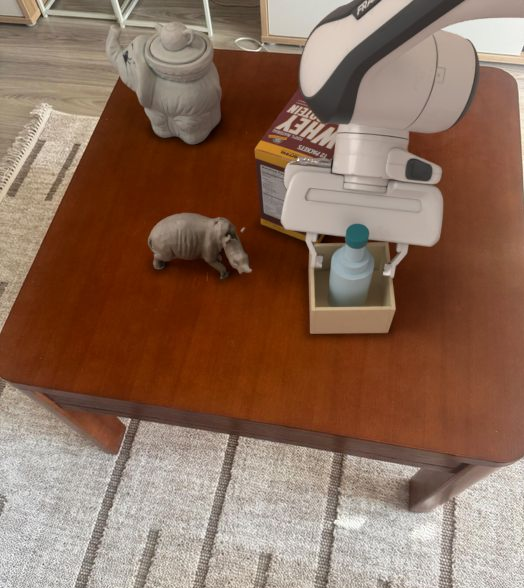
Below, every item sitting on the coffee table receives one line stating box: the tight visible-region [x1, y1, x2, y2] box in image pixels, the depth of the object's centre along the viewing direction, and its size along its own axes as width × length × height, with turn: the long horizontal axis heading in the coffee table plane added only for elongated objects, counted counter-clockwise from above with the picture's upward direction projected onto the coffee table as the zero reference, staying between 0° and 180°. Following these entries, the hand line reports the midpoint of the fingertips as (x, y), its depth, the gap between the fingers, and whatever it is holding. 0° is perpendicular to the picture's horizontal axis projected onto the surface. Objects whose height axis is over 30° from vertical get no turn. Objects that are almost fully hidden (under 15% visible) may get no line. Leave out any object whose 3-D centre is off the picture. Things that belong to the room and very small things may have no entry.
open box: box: [308, 241, 397, 335], centre depth 74 cm, size 11×11×6 cm
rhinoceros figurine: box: [147, 212, 253, 280], centre depth 78 cm, size 8×14×15 cm
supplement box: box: [254, 87, 341, 244], centre depth 79 cm, size 10×15×16 cm
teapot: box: [105, 21, 223, 145], centre depth 88 cm, size 16×15×19 cm
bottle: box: [328, 224, 374, 307], centre depth 70 cm, size 6×6×15 cm
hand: (351, 272), depth 70 cm, fingers open, 8 cm apart
